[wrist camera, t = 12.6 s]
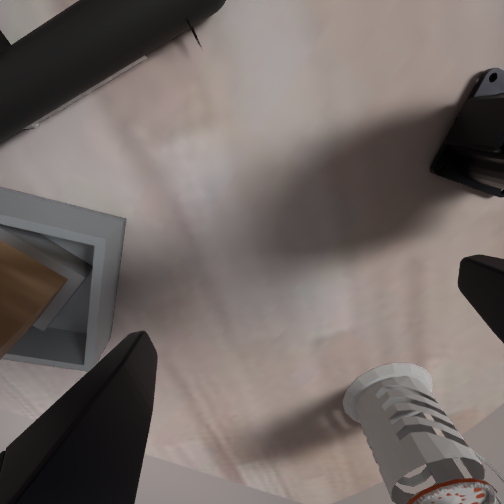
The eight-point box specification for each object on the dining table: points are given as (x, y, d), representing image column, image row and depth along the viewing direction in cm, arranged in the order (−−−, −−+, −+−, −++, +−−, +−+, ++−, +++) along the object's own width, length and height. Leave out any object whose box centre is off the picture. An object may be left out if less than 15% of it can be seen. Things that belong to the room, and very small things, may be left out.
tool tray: (126, 218, 20) (106, 239, 17) (110, 337, 24) (92, 372, 21) (-61, 171, 18) (-126, 184, 14) (-40, 312, 22) (-86, 345, 19)
